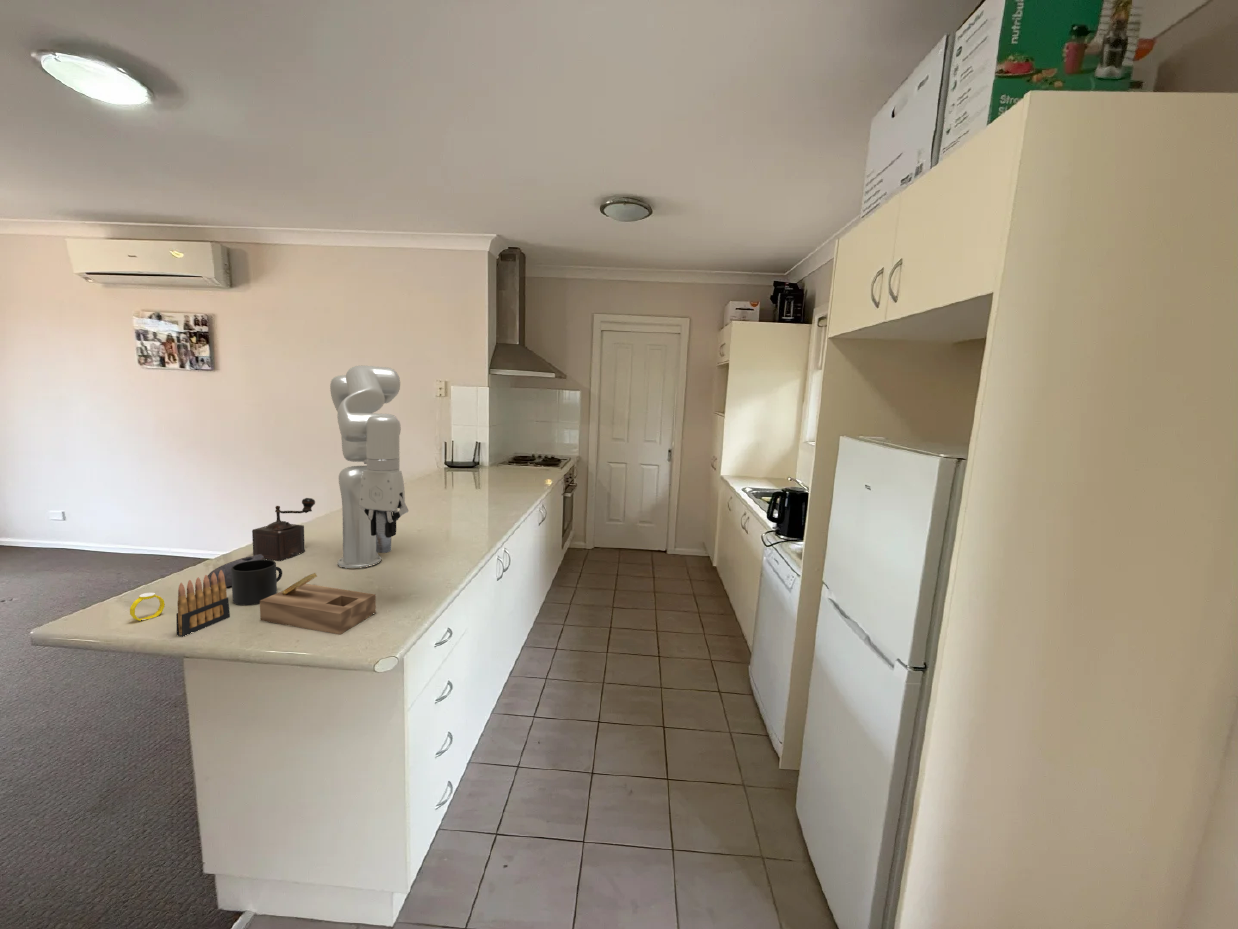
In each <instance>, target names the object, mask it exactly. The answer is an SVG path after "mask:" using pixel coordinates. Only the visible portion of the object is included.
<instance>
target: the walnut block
mask: <svg viewBox="0 0 1238 929" xmlns="http://www.w3.org/2000/svg"><path fill="white" fill-rule="evenodd" d="M282 591H283V590H282ZM282 591H280V592H279V591H278V592H277V594H274V595H272V596H269V597H267V598H265V599H262V600H260V603H259V616H260V621H262V622H267V623H273V624H279V625H284V626H290V627H296V628H302V629H307V630H313V631H319V632H325V633H330V634H336V635H342V634H343V633H346V631H349V630H351V629H352V628H354V627H355V626H356V625H359V624H360V623H362V622H364V621H365V620H366V619H368V617H369V616H370V617H372V616H373V615H372V614H373V613H375V614H376V612H377V611H376V610H377V607H376V606H377V605H376V603H377V602H376V601H377V600H376V599H377V596H376V593H369V592H362V591H355V590H350V589H343V588H335V587H330V586H323V585H317V584H309V583H306V584H304V585H303V586H301V587H299V588H298V589H296V590H294V591H292V592H290V593H287V594H285V595H283V594H282ZM371 615H372V616H371ZM370 617H369V618H370ZM364 619H365V620H364ZM363 620H364V621H363Z"/></svg>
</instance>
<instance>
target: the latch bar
mask: <svg viewBox="0 0 1238 929" xmlns="http://www.w3.org/2000/svg"><path fill="white" fill-rule="evenodd" d="M317 577H318V575H317V573H316V572H314V573H312V574H309V575H307V576H304V577H303V578H301V579H300V580H298V581H297V582H295V583H294V584H292V585H290V586H288V587H287V588H285V589H283V590H282V594H283V595H285V594H287V593H290V592H292V591H294V590H296V589H298V588H299V587H301V586H303V585H304V584H308V583H309V582H310V581H313V580H314V579H315V578H317Z"/></svg>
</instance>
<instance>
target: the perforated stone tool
mask: <svg viewBox="0 0 1238 929" xmlns="http://www.w3.org/2000/svg"><path fill="white" fill-rule="evenodd" d="M252 560H265V559H264V556H263V555H262V554H258V555H254V556H253V555H249V556H246V557H242V558H238V559H235V560H233V561H230V562H228V563H224V564H222V565H220V566H218V567H217V568H214V569H213V570H212V571H210V572H209V573H208V575H207V576H208V578H209V582H210V589H211V576H212V574H213V572H214V573H215V574H216V577H217V584H218V576H219V572H220V570H222V571H223V574H224V578H225V585H226V588H228V587H232V576H231V568H232V567H233V566H234V565H236V564H239V563H242V562H246V561H252Z"/></svg>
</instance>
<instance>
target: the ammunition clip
mask: <svg viewBox="0 0 1238 929" xmlns="http://www.w3.org/2000/svg"><path fill="white" fill-rule="evenodd" d="M194 584H195V585H194ZM194 584H193V582H192V580H190V579H189V580H188V582H187V585H186V589H185V585H184V584H183V583H182V582H180V584H179V585H178V591H177V594H178V596H177V612H176V636H177V635H178V636H177V637H181V636H182V637H183V636H184V637H186V636H185V635H187V634H189V635H191V634H192V633H191V632H194V633H197V632H199V631H200V630H203V629H206V628H207V627H210V626H212V625H215V624H218V623H220V622H221V621H225V620H227V619H229V618H230V617H231V613H230V602H229V601H230V600H229V597H228V596H227V587H226V585H225V578H224V574H223V571H222V570H220V572H219V576H218V584H217V577H216V574H215V573H214V572H213V574H212V576H211V588H210V582H209V578H208V575H207V574H205V575H204V577H203V583H202V580H201V578H199V577H196V579H195V583H194ZM194 587H195V588H194ZM205 627H206V628H205ZM198 630H199V631H198ZM190 633H191V634H190ZM187 636H188V635H187ZM182 637H181V638H182ZM184 637H183V638H184Z"/></svg>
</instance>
